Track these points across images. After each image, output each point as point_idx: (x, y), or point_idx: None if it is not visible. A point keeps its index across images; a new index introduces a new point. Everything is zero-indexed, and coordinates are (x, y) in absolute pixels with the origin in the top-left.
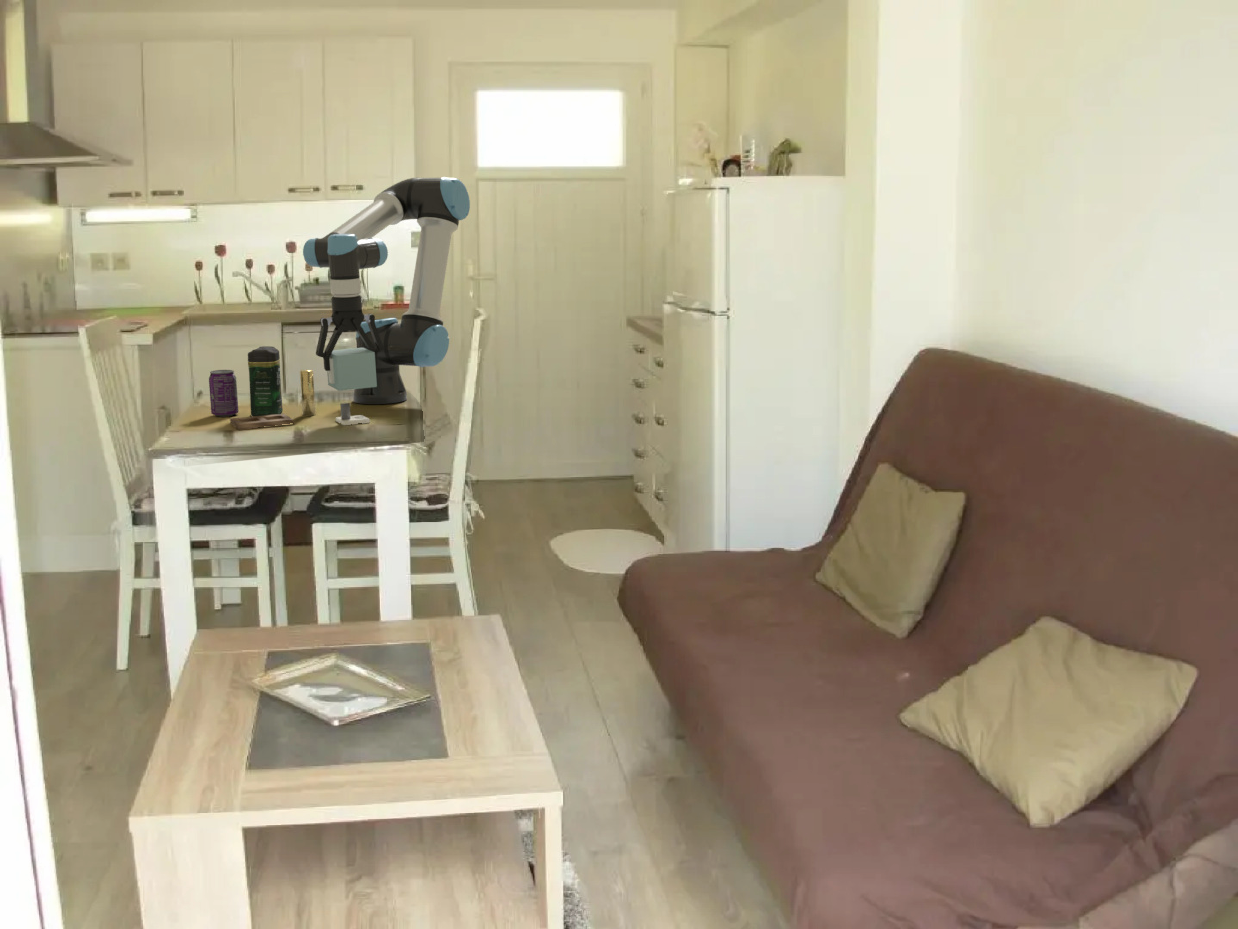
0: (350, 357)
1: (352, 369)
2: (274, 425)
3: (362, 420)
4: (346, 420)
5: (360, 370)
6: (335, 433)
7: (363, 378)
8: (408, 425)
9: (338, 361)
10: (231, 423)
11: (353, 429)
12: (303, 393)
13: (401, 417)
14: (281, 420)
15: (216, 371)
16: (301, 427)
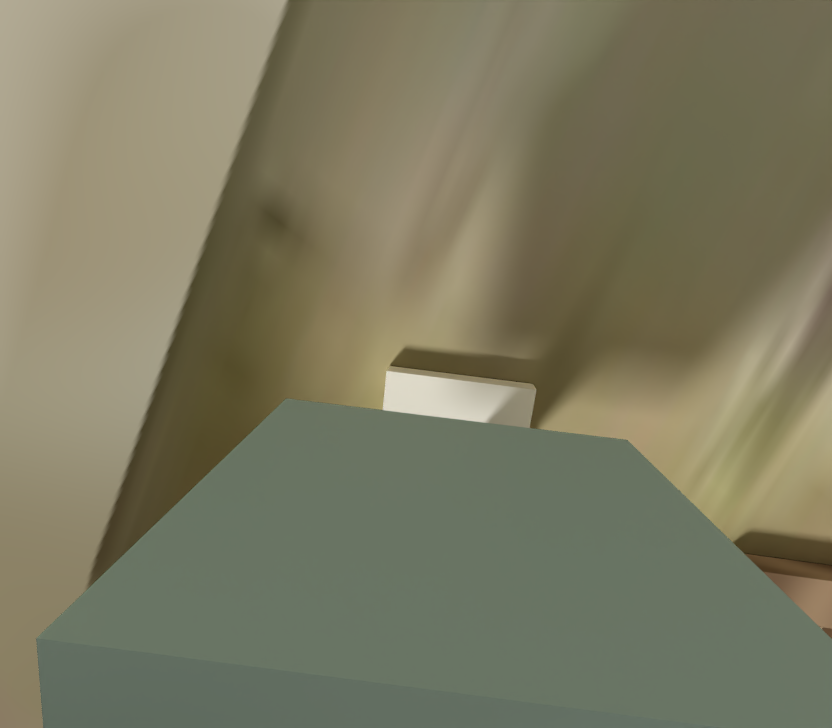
0: (597, 655)
1: (525, 518)
2: (825, 567)
3: (427, 375)
4: (508, 406)
5: (417, 492)
6: (689, 174)
7: (393, 446)
8: (243, 156)
9: (809, 644)
10: None
11: (547, 233)
12: None
13: (194, 408)
14: (803, 577)
15: None
16: (732, 462)
